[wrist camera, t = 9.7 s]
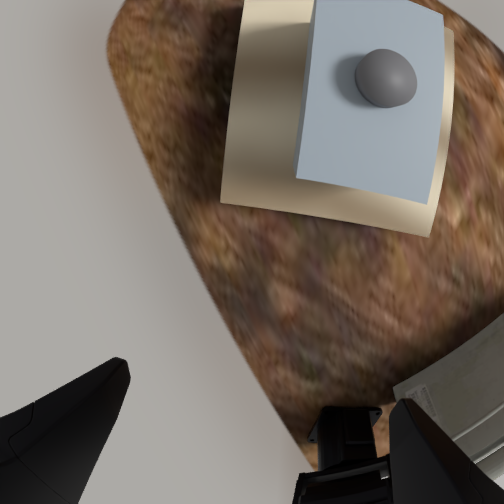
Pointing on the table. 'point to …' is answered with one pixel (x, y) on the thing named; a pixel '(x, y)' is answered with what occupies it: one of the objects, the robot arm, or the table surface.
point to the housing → (372, 97)
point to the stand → (286, 126)
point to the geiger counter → (467, 396)
